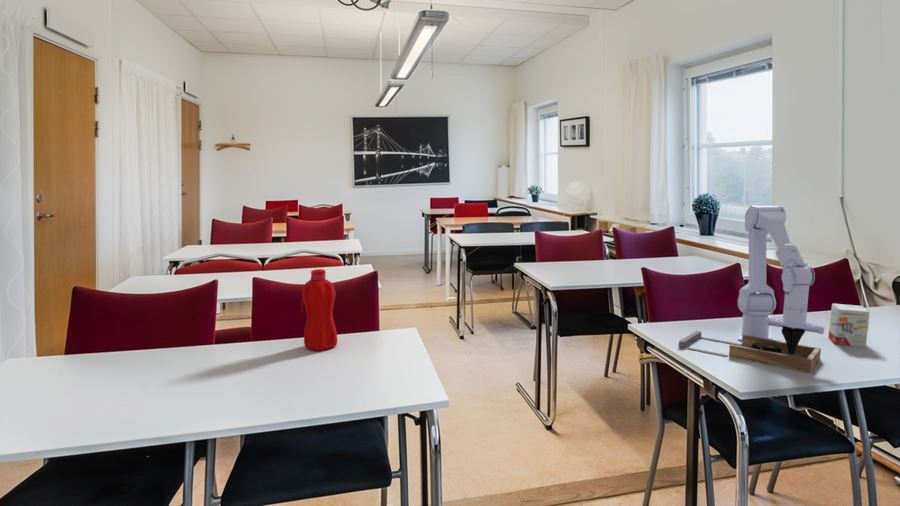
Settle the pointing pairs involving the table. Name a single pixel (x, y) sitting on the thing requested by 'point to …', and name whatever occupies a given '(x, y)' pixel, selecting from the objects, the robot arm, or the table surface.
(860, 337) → the ink box
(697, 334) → the bay
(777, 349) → the tape measure
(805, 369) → the open frame
